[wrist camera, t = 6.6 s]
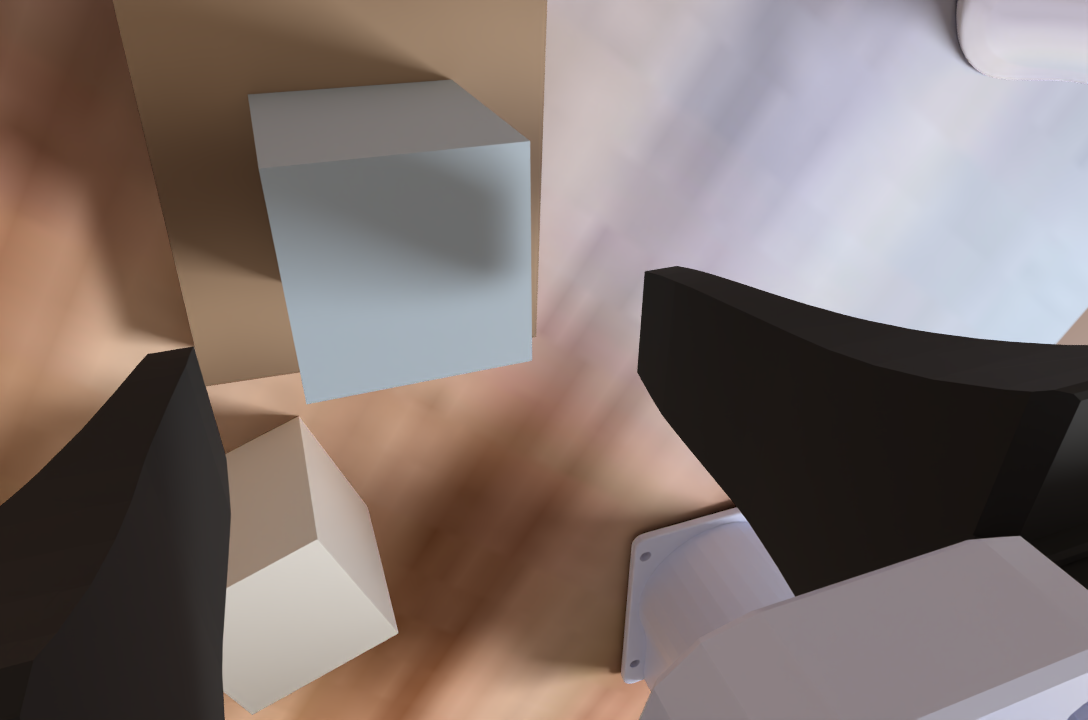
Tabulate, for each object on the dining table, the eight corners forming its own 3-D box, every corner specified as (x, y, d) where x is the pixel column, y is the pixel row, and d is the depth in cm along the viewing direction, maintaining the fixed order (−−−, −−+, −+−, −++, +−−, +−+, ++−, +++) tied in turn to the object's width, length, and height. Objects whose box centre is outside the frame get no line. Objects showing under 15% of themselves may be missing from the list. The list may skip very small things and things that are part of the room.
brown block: (509, 300, 24) (535, 336, 22) (205, 340, 21) (204, 386, 19) (513, -14, 19) (547, -4, 17) (124, -16, 16) (111, -5, 14)
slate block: (462, 257, 20) (532, 360, 15) (285, 283, 18) (306, 404, 14) (451, 79, 17) (530, 140, 13) (247, 94, 16) (258, 168, 12)
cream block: (367, 505, 25) (398, 633, 21) (246, 571, 25) (252, 714, 21) (298, 415, 23) (317, 539, 18) (161, 486, 22) (147, 630, 18)
